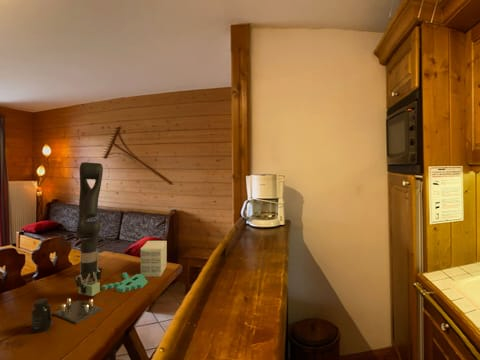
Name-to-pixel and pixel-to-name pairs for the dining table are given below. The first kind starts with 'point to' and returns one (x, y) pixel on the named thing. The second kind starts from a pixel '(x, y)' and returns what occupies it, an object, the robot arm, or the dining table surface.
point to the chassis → (77, 311)
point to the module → (91, 288)
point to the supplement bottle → (40, 316)
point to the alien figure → (128, 283)
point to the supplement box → (153, 258)
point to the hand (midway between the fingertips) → (89, 290)
